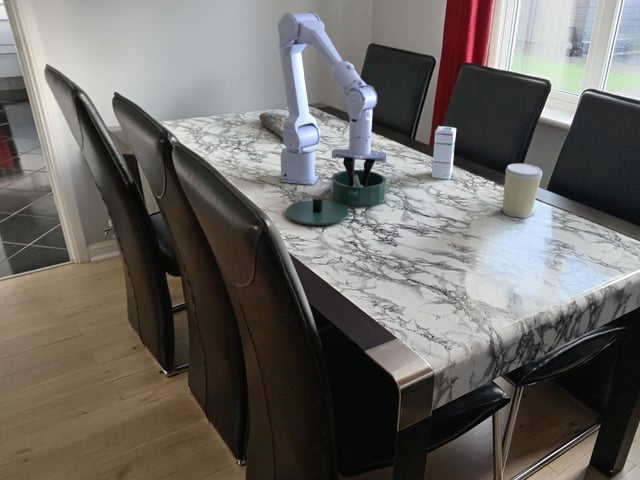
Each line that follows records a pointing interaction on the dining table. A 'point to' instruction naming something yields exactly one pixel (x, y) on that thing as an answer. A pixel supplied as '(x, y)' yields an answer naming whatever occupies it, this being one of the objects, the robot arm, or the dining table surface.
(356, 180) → the pacifier
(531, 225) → the dining table surface
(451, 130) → the syrup box
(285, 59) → the robot arm
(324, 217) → the lid
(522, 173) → the coffee cup
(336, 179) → the pot
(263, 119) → the elongated rock
